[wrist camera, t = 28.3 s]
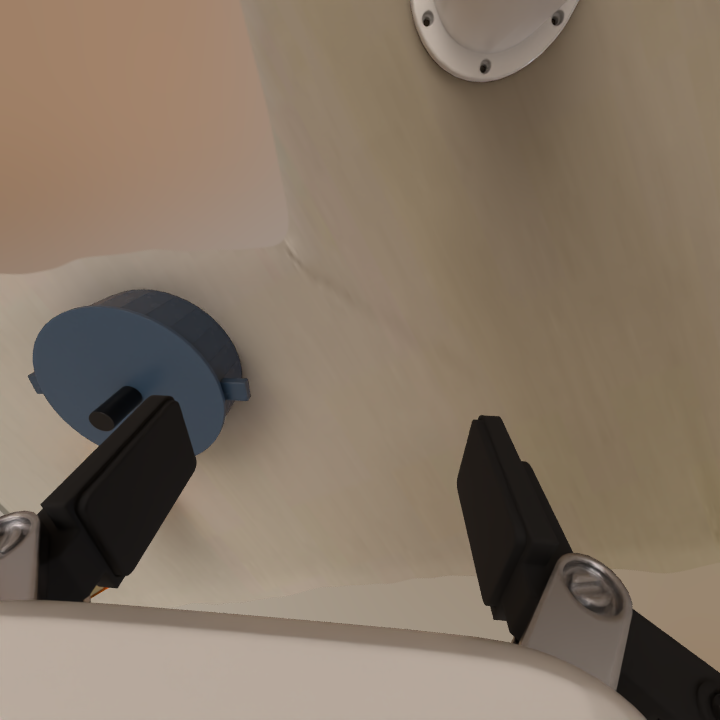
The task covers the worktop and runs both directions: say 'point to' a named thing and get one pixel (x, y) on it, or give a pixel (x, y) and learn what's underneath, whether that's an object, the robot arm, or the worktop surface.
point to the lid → (123, 372)
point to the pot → (187, 336)
